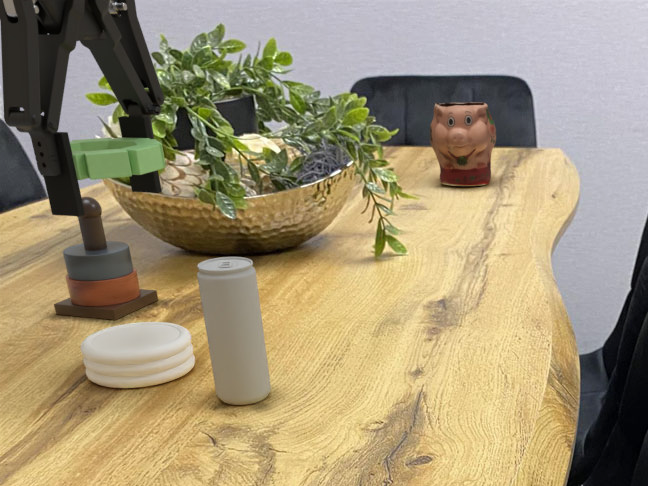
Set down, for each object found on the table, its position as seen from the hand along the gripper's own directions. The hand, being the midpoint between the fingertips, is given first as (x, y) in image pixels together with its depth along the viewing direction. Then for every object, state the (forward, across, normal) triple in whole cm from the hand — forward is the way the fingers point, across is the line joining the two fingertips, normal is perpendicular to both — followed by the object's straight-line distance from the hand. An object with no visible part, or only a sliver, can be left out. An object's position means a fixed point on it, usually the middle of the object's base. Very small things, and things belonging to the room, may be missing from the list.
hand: (109, 202), depth 85 cm
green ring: (-3, 0, 0) cm, 3 cm away
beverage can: (+16, -3, -13) cm, 21 cm away
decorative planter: (+16, +103, +4) cm, 104 cm away
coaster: (+16, 0, 0) cm, 16 cm away
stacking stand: (+16, +17, +17) cm, 29 cm away
